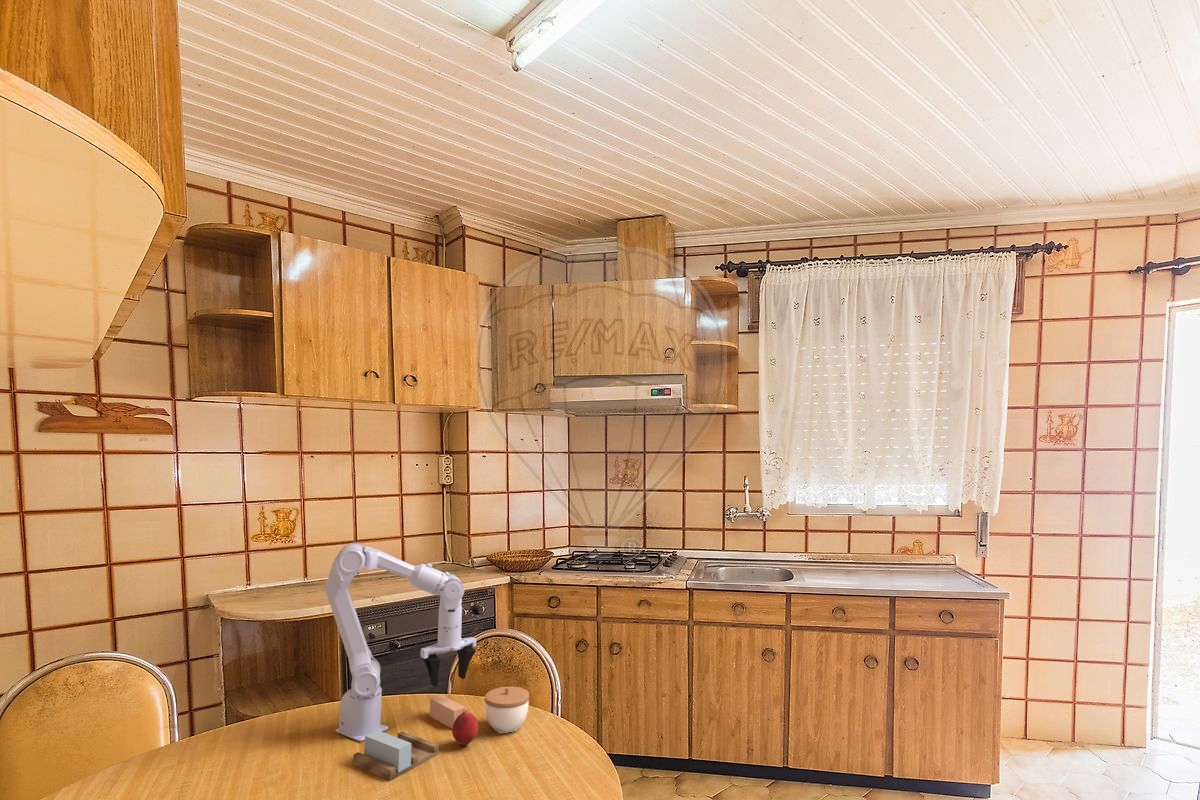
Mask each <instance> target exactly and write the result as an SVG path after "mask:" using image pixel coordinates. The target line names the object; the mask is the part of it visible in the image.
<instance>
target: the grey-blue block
mask: <svg viewBox="0 0 1200 800" xmlns="http://www.w3.org/2000/svg"><path fill="white" fill-rule="evenodd" d="M411 744H412V743H410V742H407V741H405V740H402V739H399V738H398V736H397V737H396V736H393V735H392V734H389V733H386V732H384V731H383V732H381V731H378V730H377V731H375V732H372V733H370V734H368V735H366V736H365V740H364V745H363V746H364V748H363V749H364V751H363V754H364V755H367V756H369V757H371V758H374V759H376V760H378V761H381V762H383V763H386V764H388V765H390V766H393V767H395V768H396V772H400V771H402V770H404V769H406V768H407V767H409V766H411Z"/></svg>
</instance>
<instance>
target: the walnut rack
mask: <svg viewBox="0 0 1200 800" xmlns="http://www.w3.org/2000/svg"><path fill="white" fill-rule="evenodd" d="M397 738H399V739H402V740H405V741H407V742H410V743H412V744H411V766H409V767H407V768H406V769H404V770H402V771H400V772H396V768H395V767H393V766H390V765H388V764H386V763H383V762H381V761H378V760H376V759H374V758H371V757H369V756H367V755H364V753H361V752H360V751H358V752H356V753H354V754H353V760H352V765H353V766H355V765H356V766H355V767H357V766H358V768H359V767H360V769H362V770H363V771H366V772H369V773H371V774H373V775H376V776H378V777H380V778H382V779H385V780H387V781H389V782H391V781H393V780H395V779H396V778H398V777H400V776H402V775H404V774H405V773H407V772H409V771H410V770H413V769H414V768H416V767H418V766H420V765H422V764H423V763H425V762H428V761H430V760H431V759H432V758H434V757H437V756H438V755H439V753H440V751H439V743H438V744H437V743H435V742H432V741H430V740H426V739H424V738H421V737H418V736H416V735H413V734H410V733H409V732H408V733H407V732H406V731H400V732H398V733H397Z"/></svg>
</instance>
